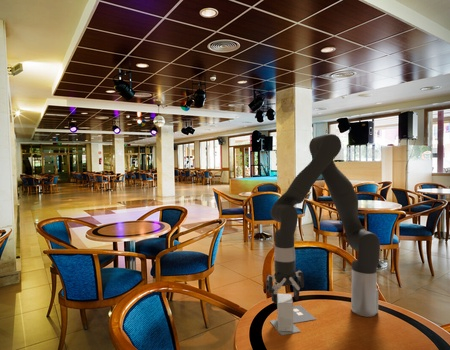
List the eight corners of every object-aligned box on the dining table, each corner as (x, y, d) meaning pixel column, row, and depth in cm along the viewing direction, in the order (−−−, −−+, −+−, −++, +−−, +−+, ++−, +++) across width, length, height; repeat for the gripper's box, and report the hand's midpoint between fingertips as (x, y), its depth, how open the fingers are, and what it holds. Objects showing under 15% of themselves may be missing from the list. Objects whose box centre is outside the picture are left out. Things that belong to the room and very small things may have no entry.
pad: (287, 318, 117) (287, 317, 117) (300, 332, 107) (300, 331, 107) (269, 321, 115) (269, 320, 115) (281, 335, 105) (281, 334, 105)
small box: (293, 332, 107) (293, 303, 106) (277, 331, 108) (277, 302, 107) (291, 320, 115) (291, 293, 114) (277, 319, 115) (277, 292, 115)
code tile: (300, 305, 127) (300, 304, 127) (316, 319, 116) (316, 319, 116) (278, 308, 125) (278, 308, 125) (292, 323, 113) (292, 323, 113)
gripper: (296, 252, 115) (297, 293, 116) (262, 257, 111) (263, 299, 112) (307, 258, 108) (308, 302, 109) (271, 263, 104) (272, 308, 105)
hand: (285, 300), depth 110 cm, fingers open, 8 cm apart
